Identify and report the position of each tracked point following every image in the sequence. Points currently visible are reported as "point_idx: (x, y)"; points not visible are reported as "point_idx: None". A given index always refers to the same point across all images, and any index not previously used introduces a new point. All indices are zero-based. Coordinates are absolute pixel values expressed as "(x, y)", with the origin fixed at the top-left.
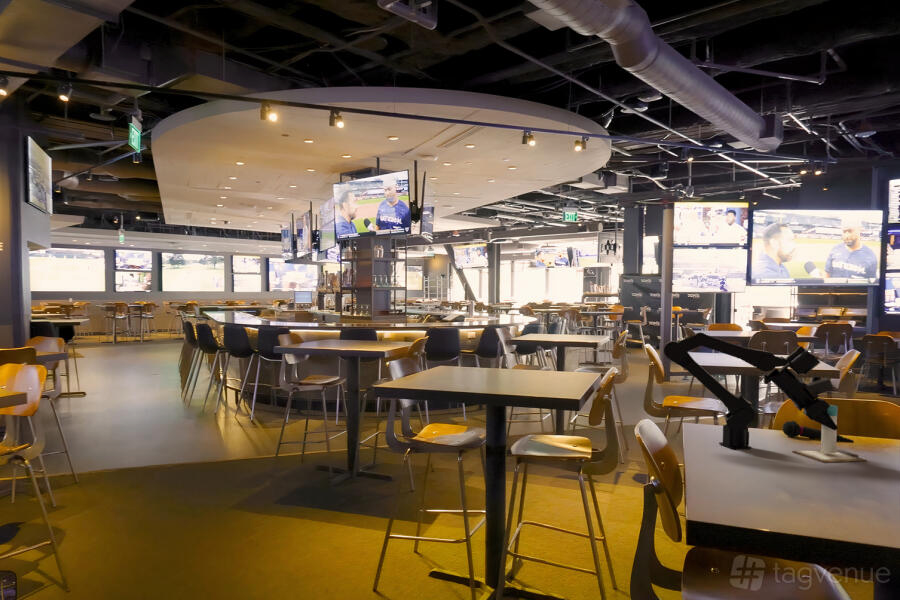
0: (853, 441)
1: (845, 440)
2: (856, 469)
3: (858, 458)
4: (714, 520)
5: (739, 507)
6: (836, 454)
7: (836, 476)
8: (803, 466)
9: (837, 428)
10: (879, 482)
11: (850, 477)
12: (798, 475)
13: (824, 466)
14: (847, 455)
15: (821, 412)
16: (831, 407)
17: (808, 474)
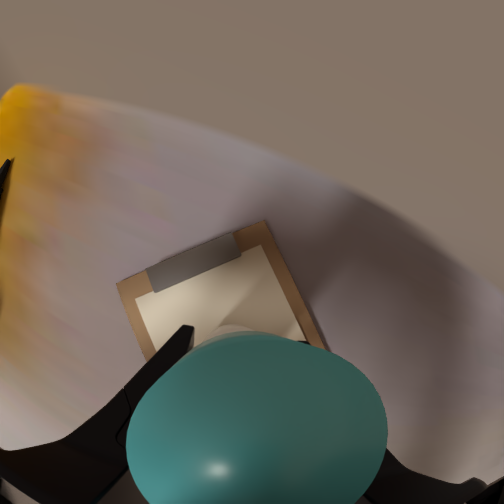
0: (9, 160)
1: (2, 179)
2: (397, 311)
3: (261, 247)
4: None
5: None
6: (217, 314)
7: (463, 383)
8: (400, 452)
9: (305, 342)
10: (477, 297)
11: (465, 352)
12: (461, 452)
13: (390, 402)
14: (222, 272)
15: (497, 481)
16: (377, 450)
17: (456, 437)
